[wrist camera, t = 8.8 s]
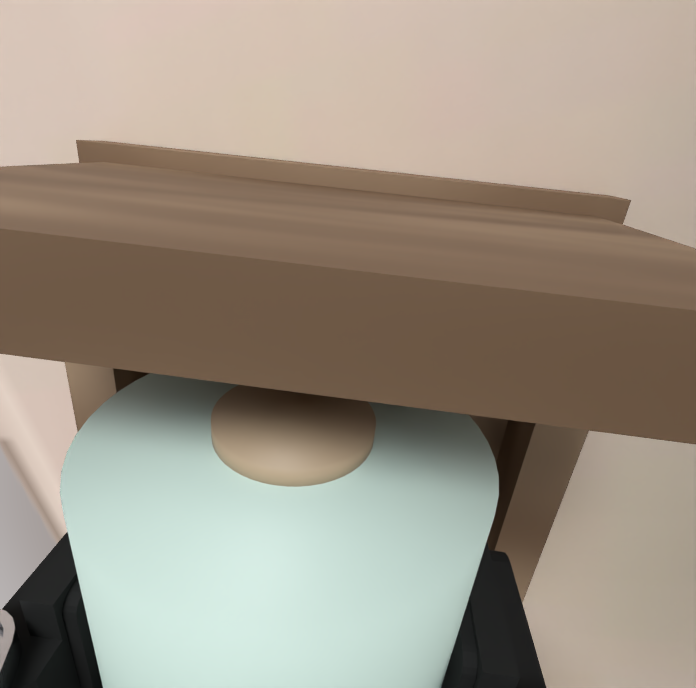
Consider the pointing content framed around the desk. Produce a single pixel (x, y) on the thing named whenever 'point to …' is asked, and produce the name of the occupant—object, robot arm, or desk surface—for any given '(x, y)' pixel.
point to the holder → (358, 300)
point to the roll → (274, 536)
